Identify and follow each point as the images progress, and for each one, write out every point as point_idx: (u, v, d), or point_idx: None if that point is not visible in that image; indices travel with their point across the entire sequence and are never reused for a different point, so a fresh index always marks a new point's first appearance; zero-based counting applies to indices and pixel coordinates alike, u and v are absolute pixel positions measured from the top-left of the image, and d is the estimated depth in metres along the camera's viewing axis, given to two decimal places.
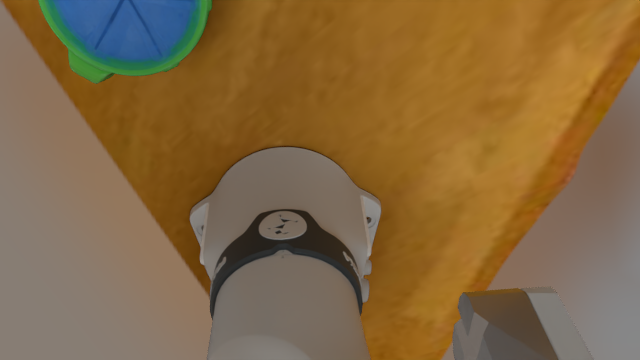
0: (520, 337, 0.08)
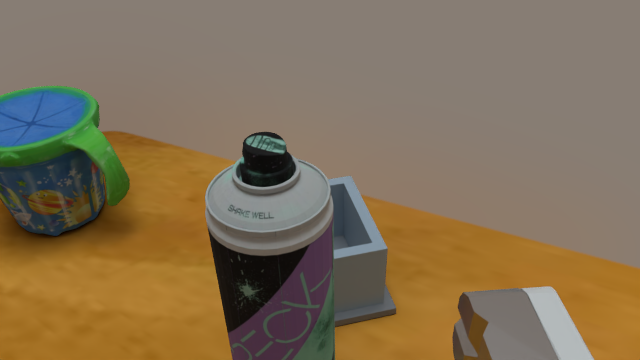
0: (520, 337, 0.08)
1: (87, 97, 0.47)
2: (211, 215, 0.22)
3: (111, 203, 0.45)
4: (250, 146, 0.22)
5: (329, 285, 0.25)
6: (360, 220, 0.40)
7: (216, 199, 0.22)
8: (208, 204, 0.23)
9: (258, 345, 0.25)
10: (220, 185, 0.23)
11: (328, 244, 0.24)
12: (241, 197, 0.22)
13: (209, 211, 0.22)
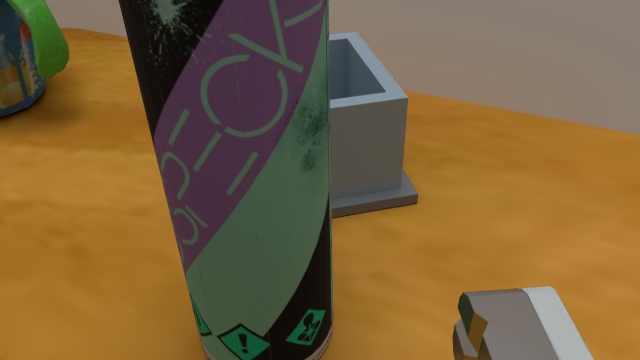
0: (520, 337, 0.08)
1: None
2: None
3: (42, 72, 0.34)
4: None
5: (320, 38, 0.14)
6: (369, 73, 0.29)
7: None
8: None
9: (197, 143, 0.14)
10: None
11: None
12: None
13: None
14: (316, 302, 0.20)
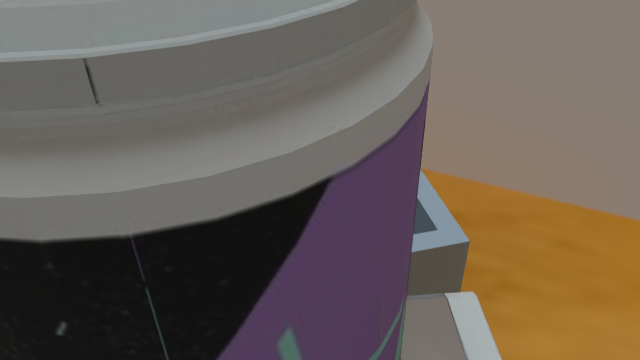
0: (434, 343, 0.08)
1: None
2: None
3: None
4: None
5: None
6: None
7: None
8: None
9: None
10: None
11: (409, 197, 0.05)
12: None
13: None
14: None
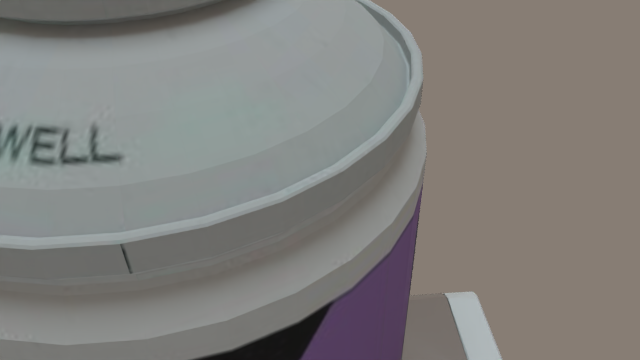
0: (434, 343, 0.08)
1: None
2: None
3: None
4: None
5: None
6: None
7: None
8: None
9: None
10: None
11: (404, 286, 0.06)
12: None
13: None
14: None
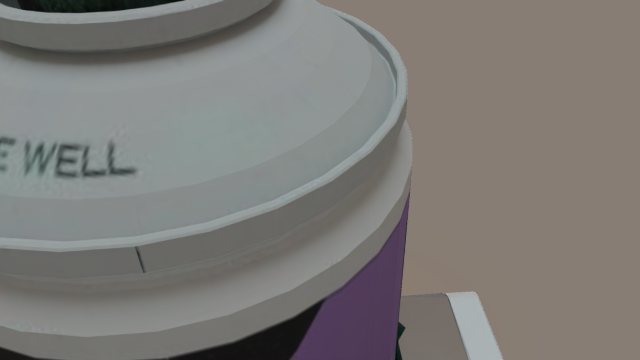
0: (435, 343, 0.08)
1: None
2: None
3: None
4: None
5: None
6: None
7: None
8: None
9: None
10: None
11: (393, 286, 0.06)
12: None
13: None
14: None
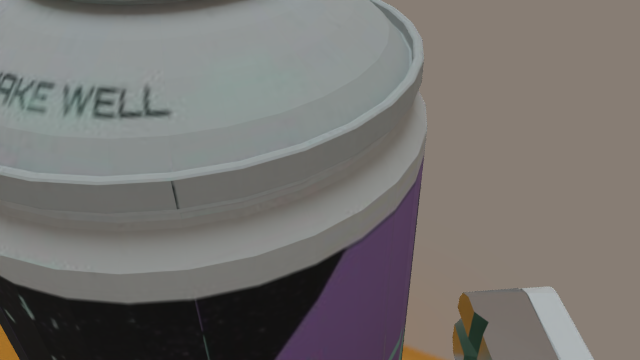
0: (520, 337, 0.08)
1: None
2: None
3: None
4: None
5: None
6: None
7: None
8: None
9: None
10: None
11: (407, 250, 0.06)
12: (28, 27, 0.05)
13: None
14: None
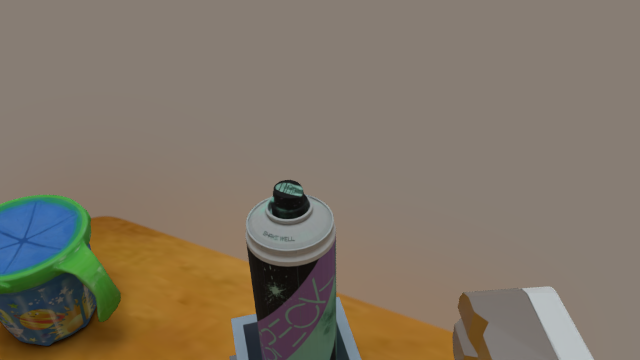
0: (520, 337, 0.08)
1: (79, 210, 0.47)
2: (251, 238, 0.32)
3: (102, 320, 0.45)
4: (278, 191, 0.31)
5: (332, 286, 0.35)
6: (346, 353, 0.40)
7: (254, 226, 0.32)
8: (248, 230, 0.32)
9: (281, 329, 0.35)
10: (257, 216, 0.33)
11: (332, 258, 0.33)
12: (272, 226, 0.32)
13: (249, 235, 0.32)
14: None
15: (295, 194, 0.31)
